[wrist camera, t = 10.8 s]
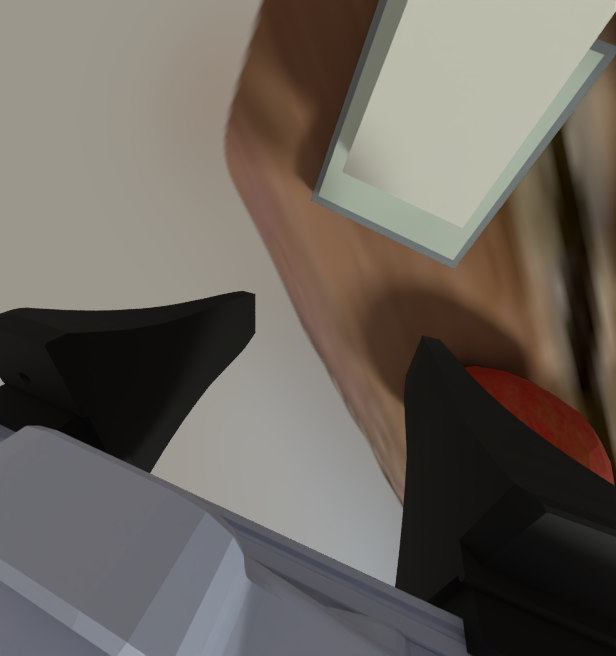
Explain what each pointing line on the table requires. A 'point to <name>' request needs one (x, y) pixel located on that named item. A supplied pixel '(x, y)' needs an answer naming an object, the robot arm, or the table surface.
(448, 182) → the carton
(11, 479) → the robot arm
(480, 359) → the table surface
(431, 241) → the tray
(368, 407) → the table surface
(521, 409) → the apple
